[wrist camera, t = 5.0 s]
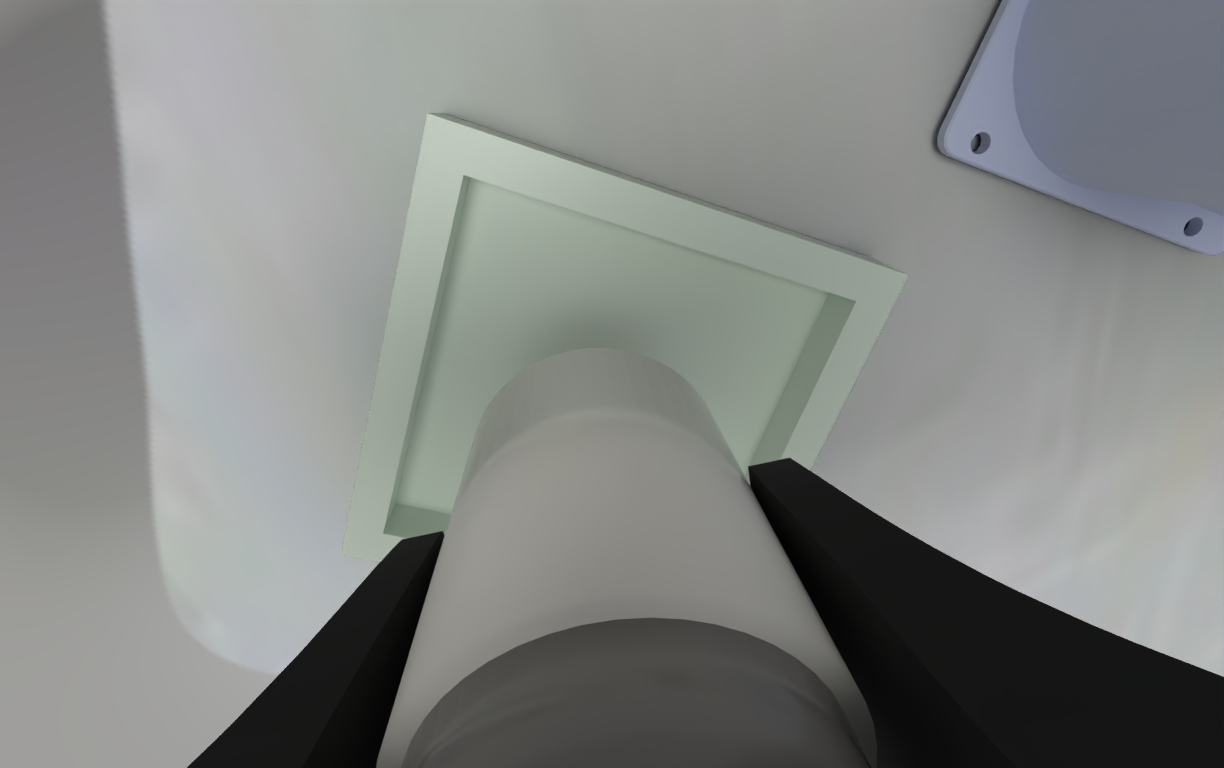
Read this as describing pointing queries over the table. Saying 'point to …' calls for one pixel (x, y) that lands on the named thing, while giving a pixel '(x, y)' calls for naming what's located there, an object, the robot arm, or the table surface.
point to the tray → (594, 314)
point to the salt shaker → (617, 596)
